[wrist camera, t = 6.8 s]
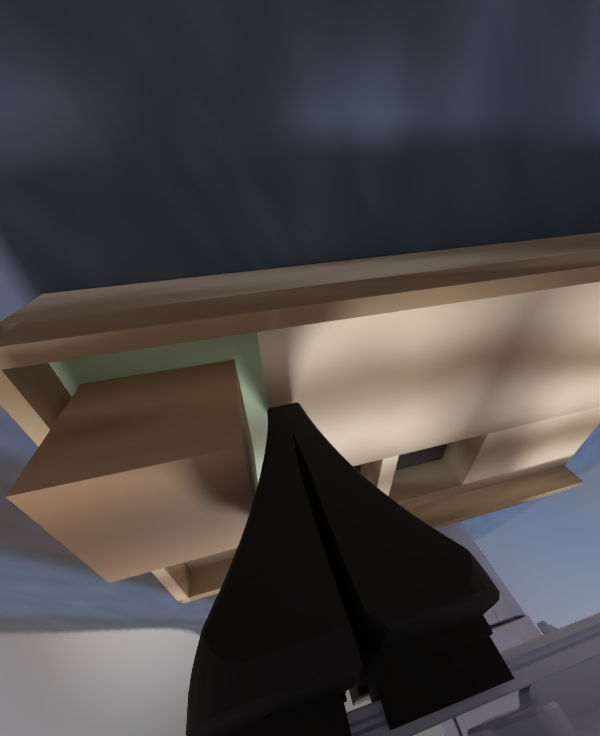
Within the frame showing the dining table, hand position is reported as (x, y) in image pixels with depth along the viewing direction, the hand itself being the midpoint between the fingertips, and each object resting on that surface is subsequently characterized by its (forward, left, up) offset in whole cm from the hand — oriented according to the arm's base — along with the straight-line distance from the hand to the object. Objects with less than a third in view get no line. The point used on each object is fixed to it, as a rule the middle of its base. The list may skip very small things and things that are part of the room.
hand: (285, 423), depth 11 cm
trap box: (-4, -7, -3) cm, 9 cm away
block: (0, +4, -1) cm, 4 cm away
